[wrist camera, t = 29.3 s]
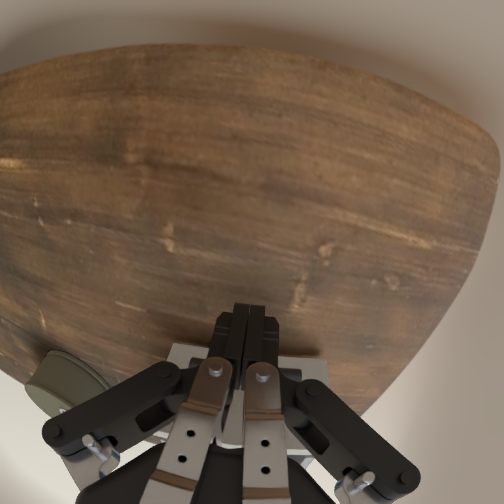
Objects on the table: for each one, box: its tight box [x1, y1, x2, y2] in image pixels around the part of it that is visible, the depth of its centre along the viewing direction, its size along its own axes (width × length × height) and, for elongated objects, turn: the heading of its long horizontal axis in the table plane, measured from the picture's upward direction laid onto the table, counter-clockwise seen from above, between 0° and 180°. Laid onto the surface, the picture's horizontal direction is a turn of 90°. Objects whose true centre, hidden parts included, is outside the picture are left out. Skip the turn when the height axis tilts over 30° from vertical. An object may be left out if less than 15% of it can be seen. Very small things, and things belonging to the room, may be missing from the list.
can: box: [25, 350, 110, 418], centre depth 29 cm, size 12×12×7 cm
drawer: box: [153, 343, 330, 469], centre depth 22 cm, size 20×14×9 cm
